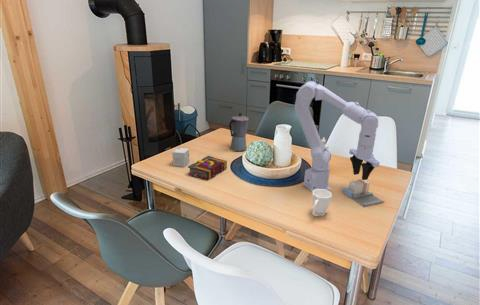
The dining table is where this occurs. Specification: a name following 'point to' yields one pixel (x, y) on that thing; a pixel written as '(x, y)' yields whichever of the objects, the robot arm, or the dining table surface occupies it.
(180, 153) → the skincare box
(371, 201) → the grey ribbed plate
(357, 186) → the block
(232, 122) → the moka pot
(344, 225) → the dining table surface
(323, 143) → the eye dropper bottle
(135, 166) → the dining table surface
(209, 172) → the decorative book
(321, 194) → the cup
